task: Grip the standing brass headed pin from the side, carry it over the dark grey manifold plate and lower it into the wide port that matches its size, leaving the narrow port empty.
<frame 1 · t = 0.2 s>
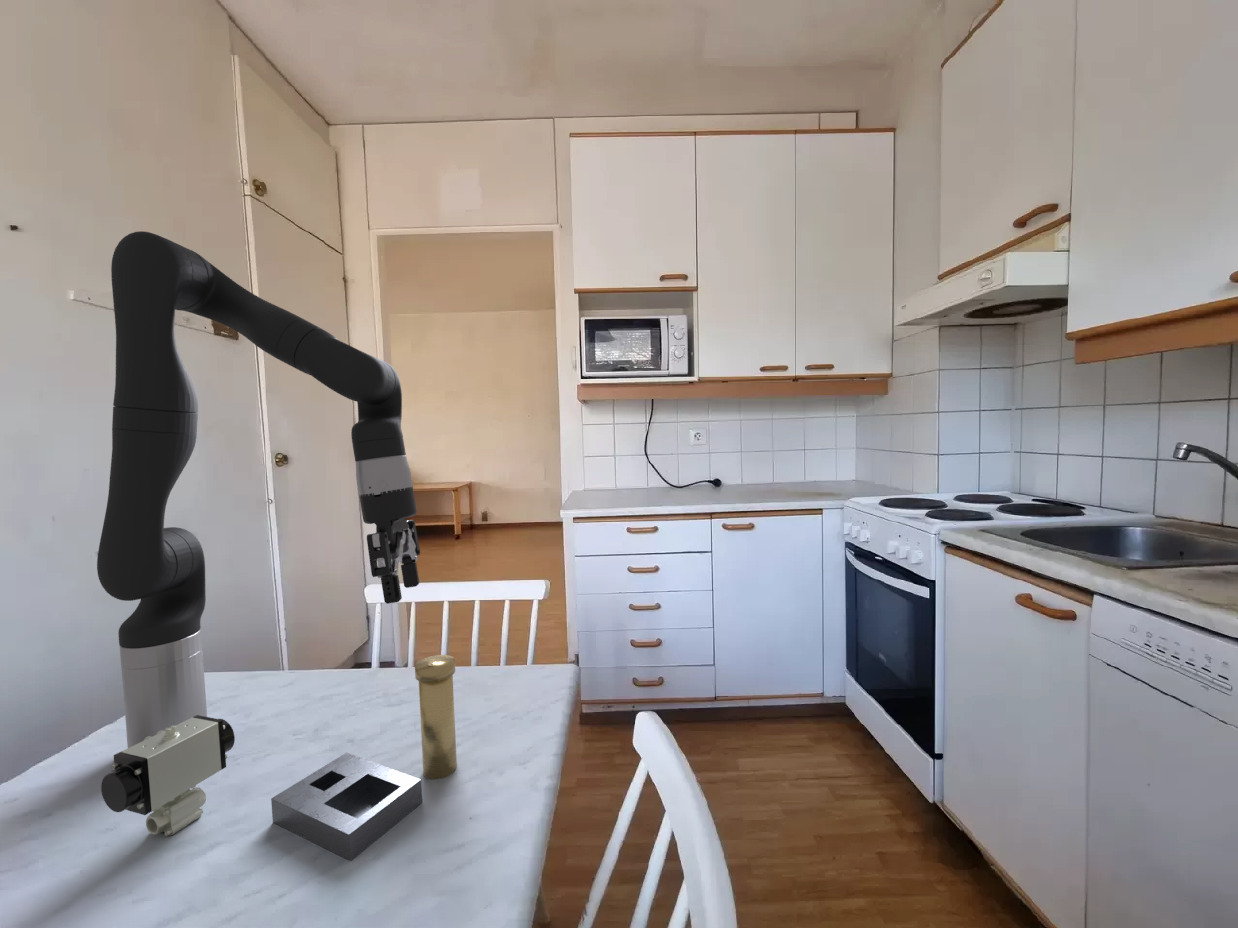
hand: (403, 593, 80), 22 cm above the table, tool pointing down, fingers open, 8 cm apart
manifold plate: (349, 812, 65), on the table
pneumatic valve: (175, 824, 64), on the table
brass headed pin: (440, 768, 73), on the table
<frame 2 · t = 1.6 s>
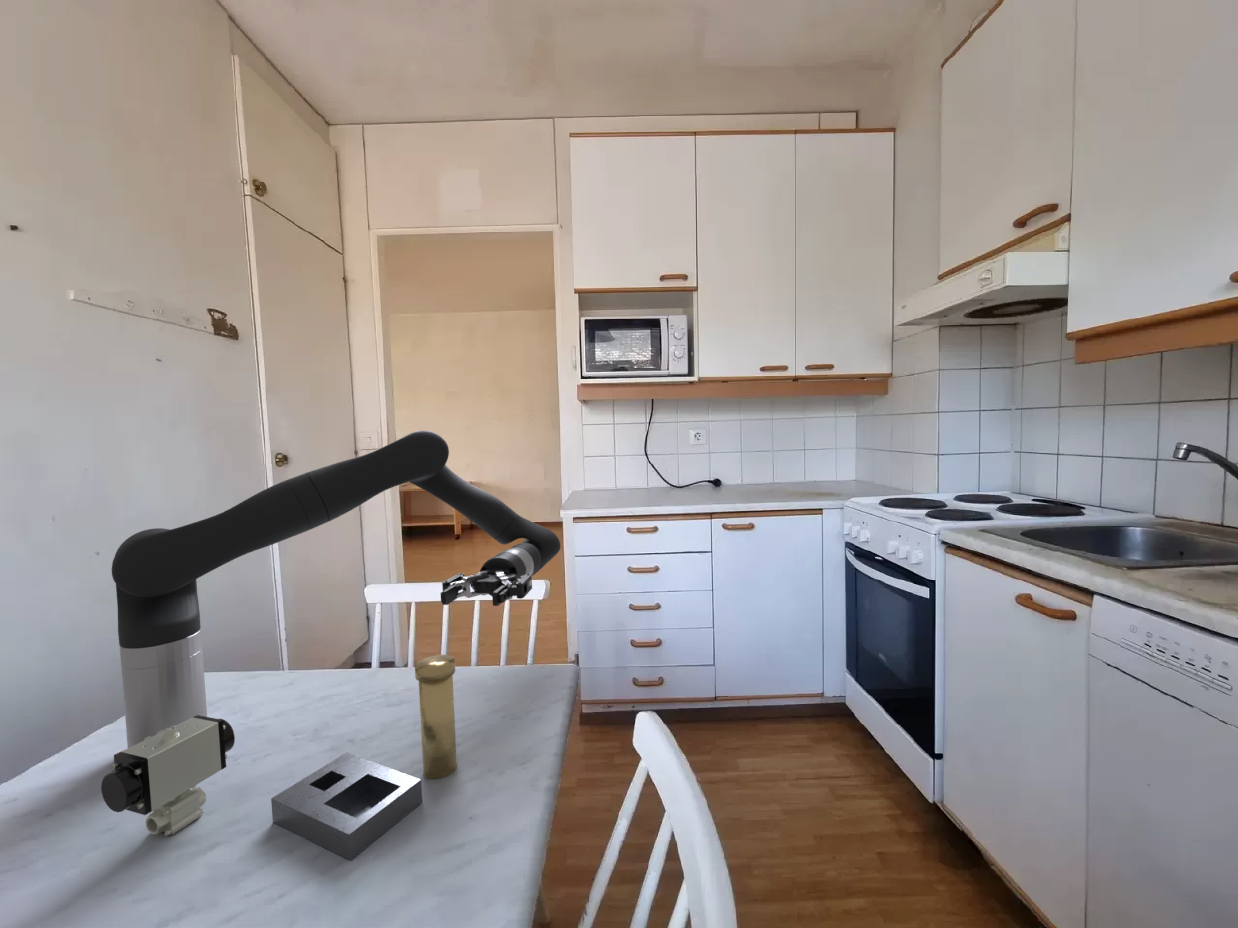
hand: (469, 599, 82), 20 cm above the table, tool horizontal, fingers open, 8 cm apart
nothing on the table moved.
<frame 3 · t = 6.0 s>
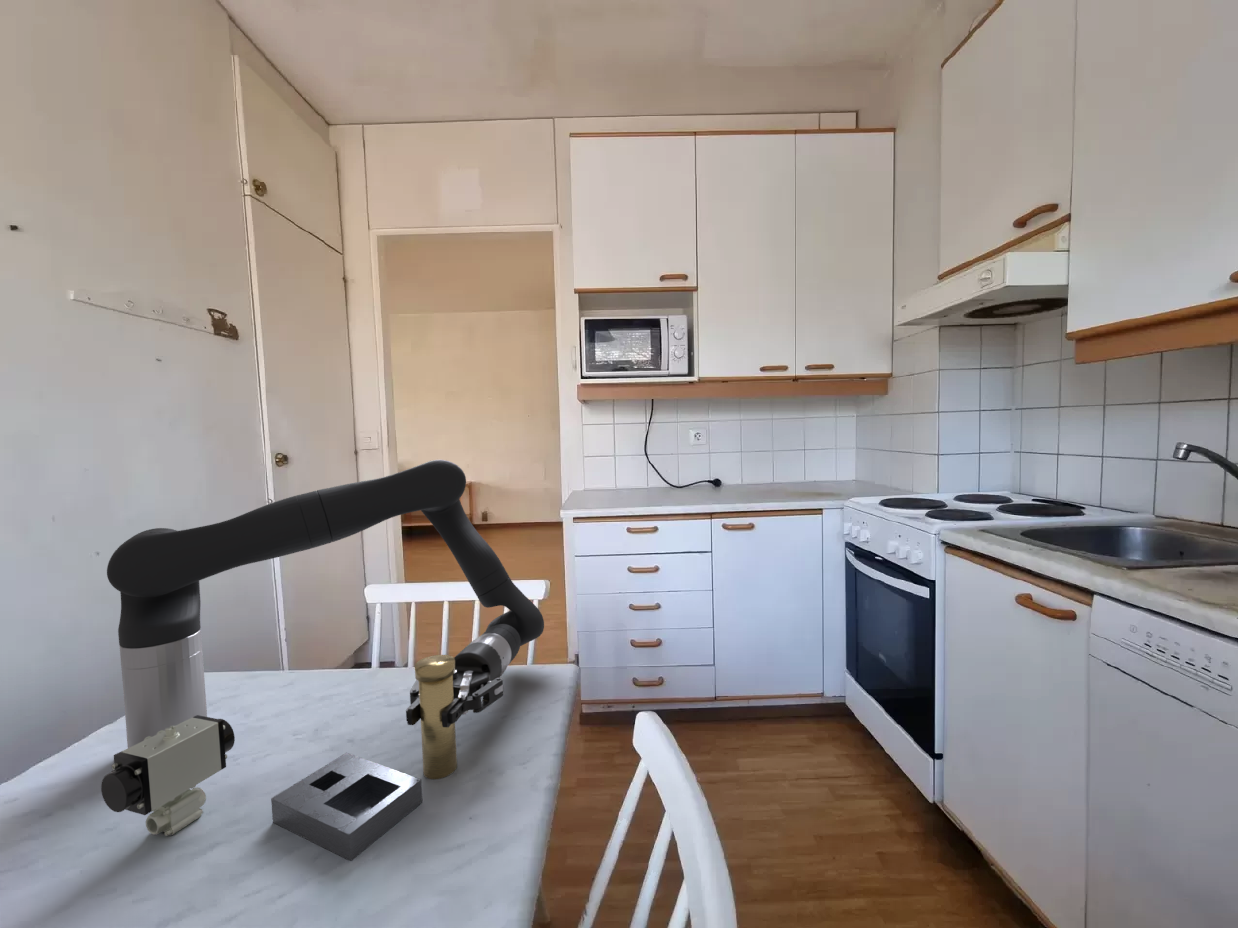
hand: (427, 719, 70), 9 cm above the table, tool horizontal, fingers closed on brass headed pin, 4 cm apart
brass headed pin: (440, 768, 73), on the table, touching gripper
everything else where it was.
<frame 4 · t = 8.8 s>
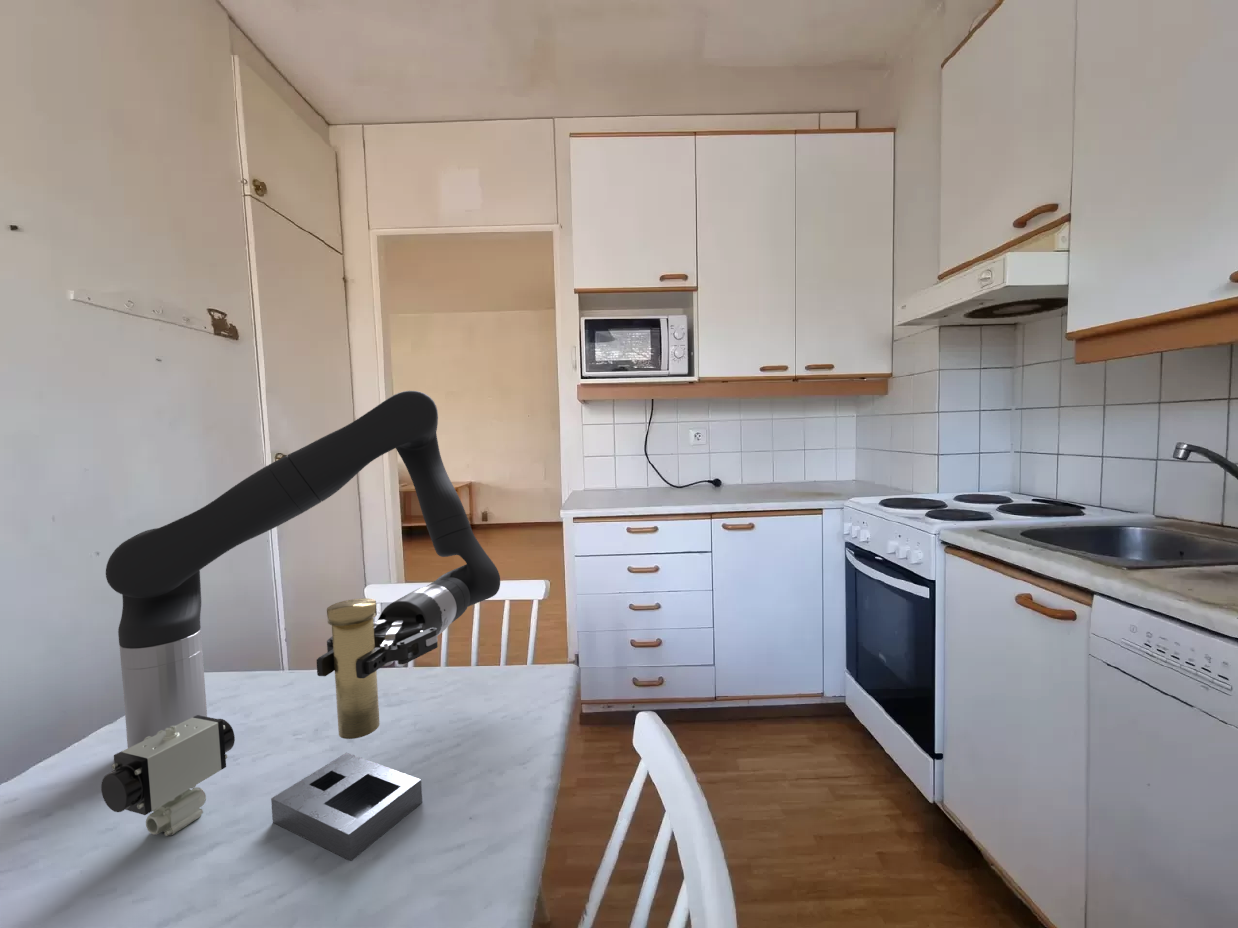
hand: (339, 668, 60), 20 cm above the table, tool horizontal, fingers closed on brass headed pin, 4 cm apart
brass headed pin: (359, 728, 63), point 11 cm above the table, touching gripper
everything else where it was.
when the fingers open (9 cm above the table, at t = 11.6 s): brass headed pin stays where it is, resting on manifold plate.
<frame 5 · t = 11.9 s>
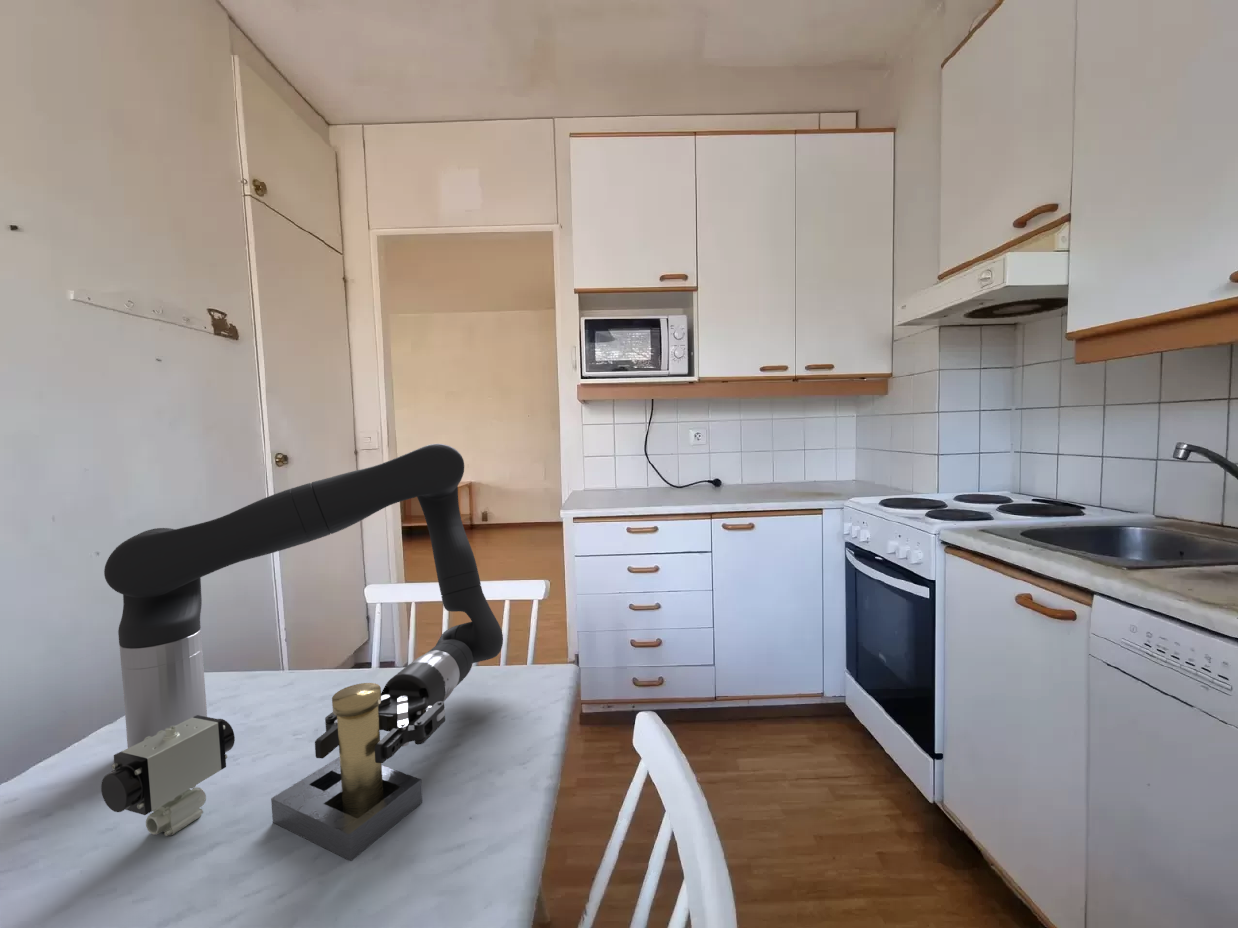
hand: (347, 753, 61), 10 cm above the table, tool horizontal, fingers open, 7 cm apart
brass headed pin: (364, 814, 63), point 1 cm above the table, touching manifold plate
everything else where it was.
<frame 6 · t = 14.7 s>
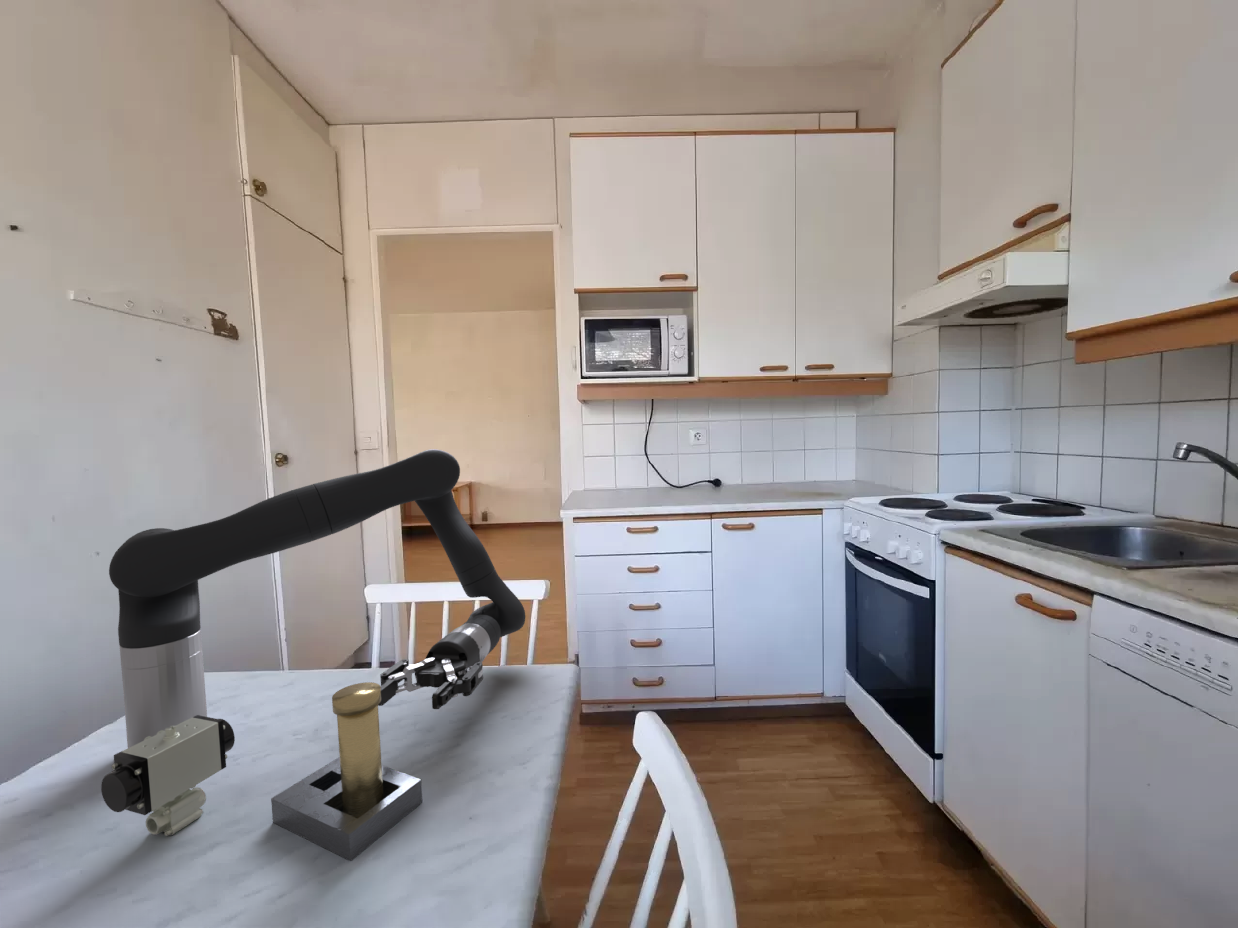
hand: (406, 700, 73), 10 cm above the table, tool horizontal, fingers open, 8 cm apart
nothing on the table moved.
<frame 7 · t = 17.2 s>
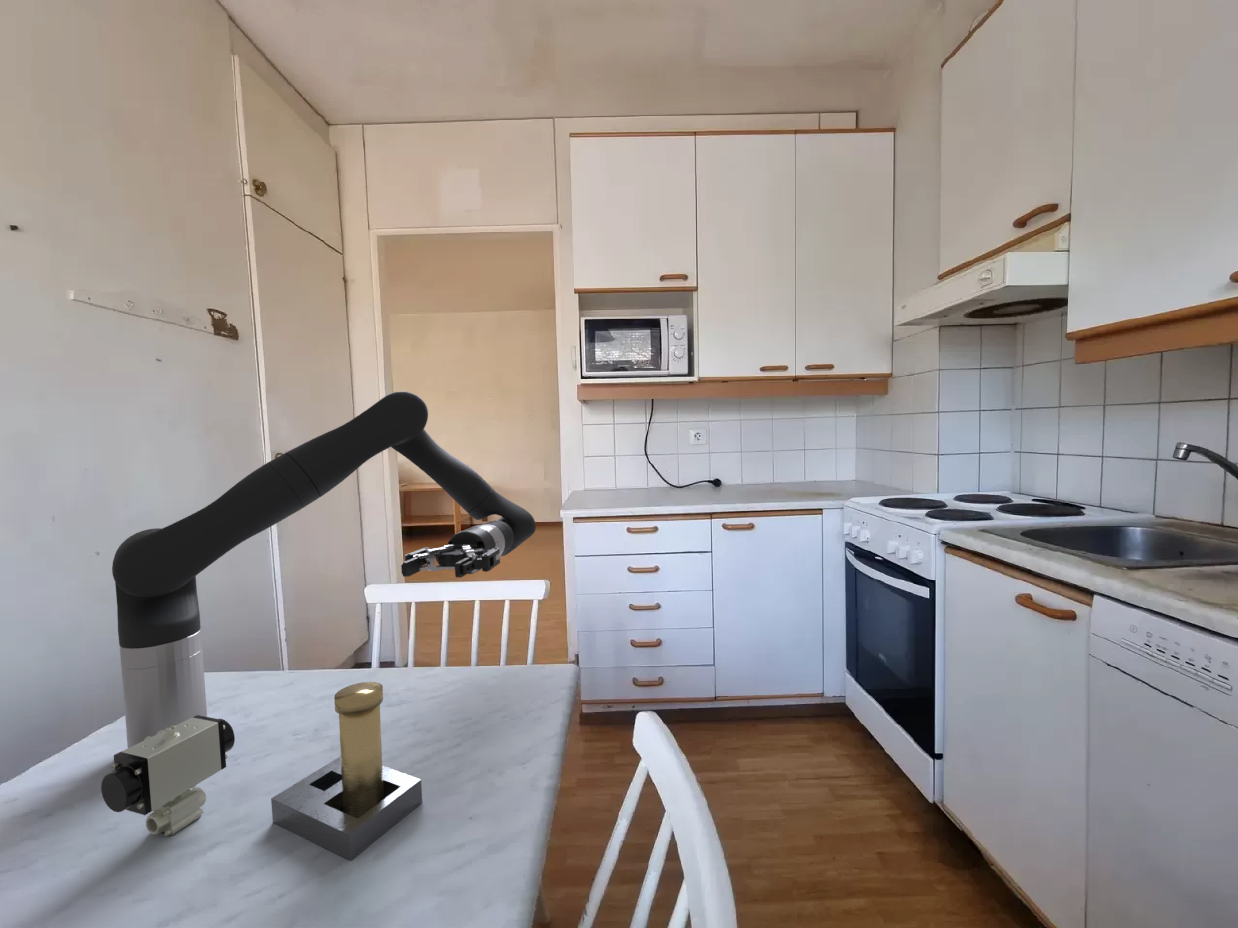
hand: (430, 570, 78), 26 cm above the table, tool horizontal, fingers open, 8 cm apart
nothing on the table moved.
at the end: brass headed pin 0.1 cm from the target spot on the manifold plate, point 0.5 cm above the manifold plate's base; brass headed pin tilted 1°; the gripper is holding nothing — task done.
